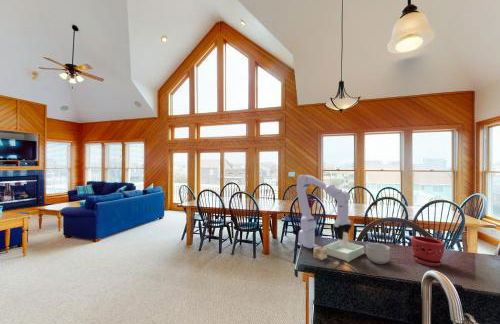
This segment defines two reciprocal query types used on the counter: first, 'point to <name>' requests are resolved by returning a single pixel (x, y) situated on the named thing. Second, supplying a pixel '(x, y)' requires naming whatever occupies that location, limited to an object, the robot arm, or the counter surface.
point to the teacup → (378, 253)
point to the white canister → (343, 240)
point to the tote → (344, 251)
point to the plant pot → (427, 250)
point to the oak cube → (320, 253)
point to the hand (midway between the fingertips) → (342, 238)
